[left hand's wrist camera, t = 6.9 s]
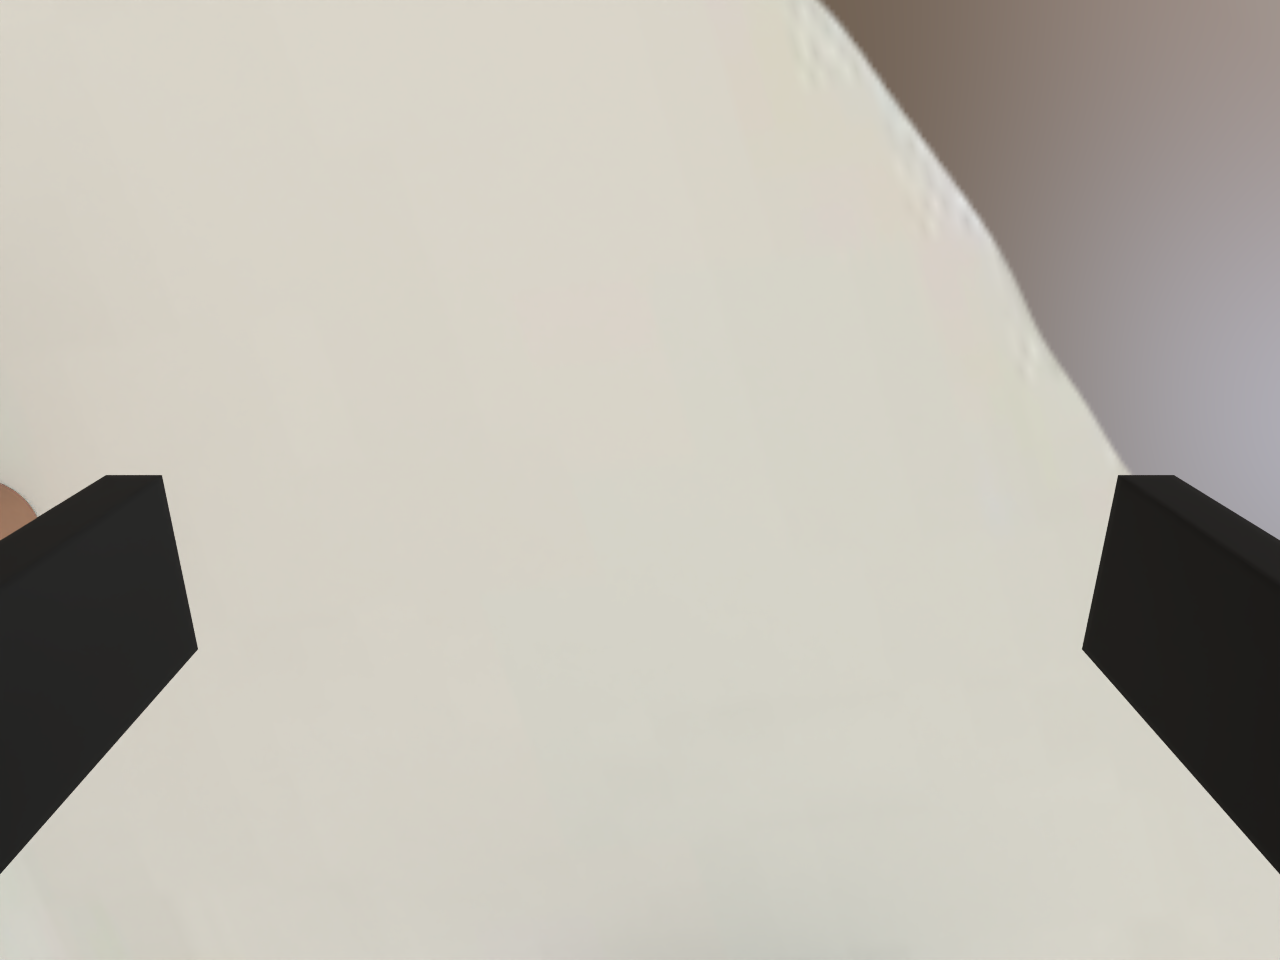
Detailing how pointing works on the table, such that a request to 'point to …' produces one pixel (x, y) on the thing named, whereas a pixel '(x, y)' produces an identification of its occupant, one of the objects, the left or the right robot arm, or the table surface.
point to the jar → (13, 511)
